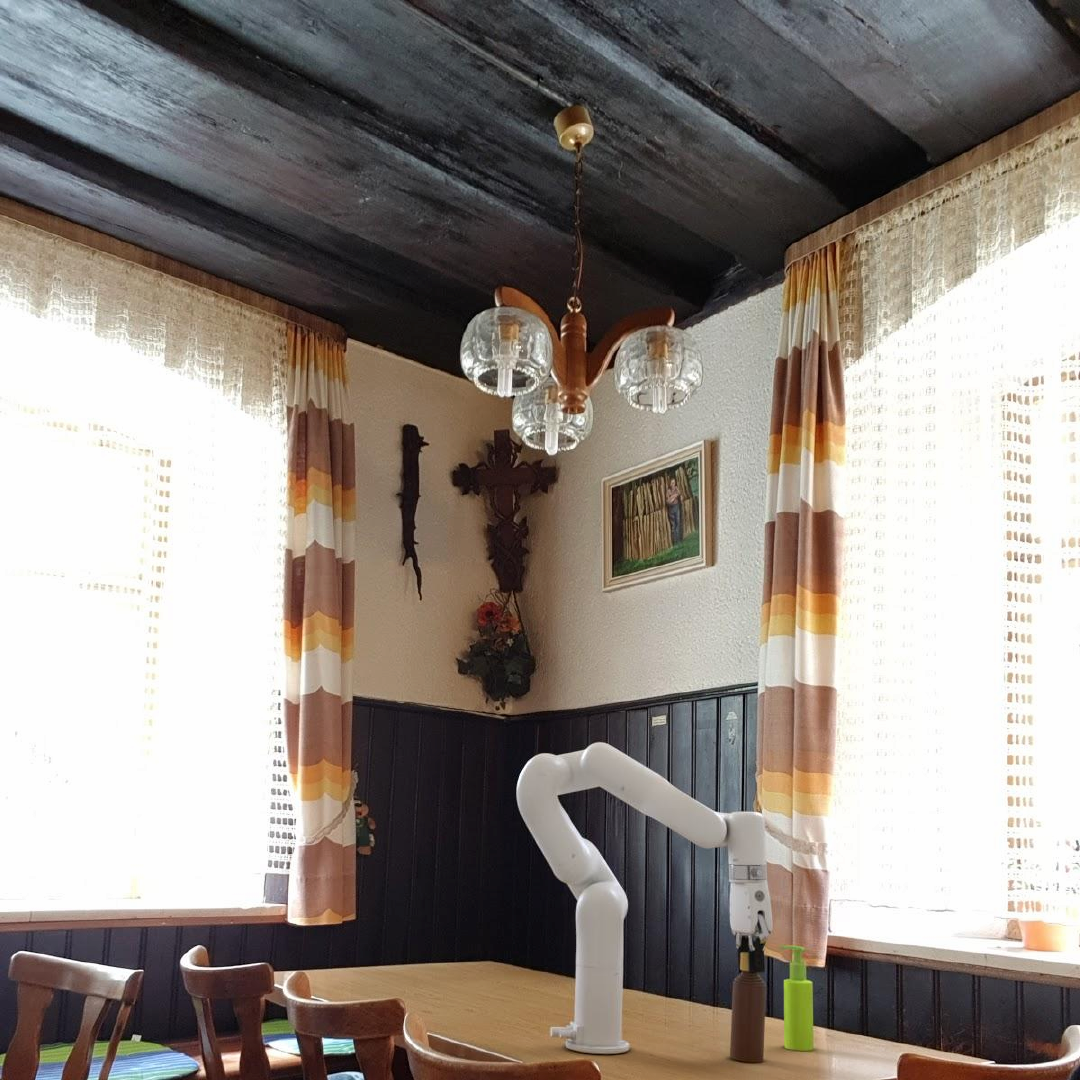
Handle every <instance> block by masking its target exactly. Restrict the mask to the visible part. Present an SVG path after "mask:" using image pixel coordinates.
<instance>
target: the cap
mask: <svg viewBox="0 0 1080 1080" xmlns="http://www.w3.org/2000/svg"><path fill="white" fill-rule="evenodd" d="M739 971H749V962H748V953H747V952H741V956H740V970H739Z"/></svg>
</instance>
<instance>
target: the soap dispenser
mask: <svg viewBox="0 0 1080 1080" xmlns="http://www.w3.org/2000/svg"><path fill="white" fill-rule="evenodd" d="M778 949H779V950H793V960H792V961H791V962H789V978H786V979H783V1033H784V1034H783V1041H784V1045H783V1047H784V1049H787V1050H791V1051H797V1052H798V1051H799V1052H810V1051H811V1052H812V1051H813V1050H814V1047H815V1046H814V990H813V983H814V982H813V981H811V980H808V979H807V963H805V962H804V961H803V952H804V951H807V949H806V947H805V946H804V947H803V946H799V945H791V944H790V945H783V946H779V947H778Z"/></svg>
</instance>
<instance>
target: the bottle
mask: <svg viewBox="0 0 1080 1080" xmlns="http://www.w3.org/2000/svg"><path fill="white" fill-rule="evenodd" d="M740 971H741V972H740V973H738V975H737V976H736V977H735V978H734V979H733V981H732V999H731V1020H730V1021H731V1023H730V1046H729V1058H730V1059H732V1060H735V1061H739V1062H745V1063H763V1062H764V1058H765V1057H764V1054H765V1026H766V1001H767V1000H766V998H767V997H766V996H767V984H766V981H764V979H763V978H762V976H761V975H760V974H759V973H760V972H758V973H751V972H749V971H743V970H740Z"/></svg>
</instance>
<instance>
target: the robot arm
mask: <svg viewBox="0 0 1080 1080" xmlns="http://www.w3.org/2000/svg"><path fill="white" fill-rule="evenodd" d="M598 787H600V788H602V789H603V790H605V791H606V792H608V793H609V794H611V795H613V796H614V797H616V798H618V799H619V800H621V801H622V802H624V803H625V804H627V805H629V806H630V807H632V808H634V809H635V810H636V811H638V812H640V813H642V815H644V816H648V817H650V818H652V819H653V820H655V821H658V822H659V823H661V824H663V825H664V826H665V827H666V828H669V829H670V830H671V831H673V832H675V833H677V834H678V835H680V836H681V837H683V838H685V839H686V840H688V841H690V842H691V843H692V844H694V845H696V846H698V847H699V848H703V849H707V850H708V849H715V848H721V847H727V852H728V854H727V855H728V856H727V857H728V882H729V883H730V887H729V888H730V889H729V890H730V891H729V925H730V929H731V933H732V934H733V936H734V940H735V946H736V947H735V948H736V953H737V954H736V955H737V969H738V970H739V971H741V970H740V956H741V952H747V953H748V962H749V972H751V973H765V970H766V967H765V951H766V943H767V941H768V939H770V935H771V934H772V932H773V930H774V929H773V925H774V923H773V912H772V903H771V902H772V901H771V894H770V890H769V884H768V873H767V871H768V870H767V869H768V868H767V846H766V822H765V816H764V815H763V814H762V813H761V812H758V811H733V812H730V813H729V812H719V811H715V810H714V809H711V808H710V807H707V806H706V805H705V804H703V803H701V802H700V801H698V800H696V799H695V798H693V797H691V796H689V795H688V794H687V793H685V792H683V791H681V790H680V789H679V788H677V786H674V785H673V784H672V783H670V782H669V781H668V780H667V779H666V778H664V777H663V776H662V775H660V774H659V773H658V772H655V771H654V770H652V769H650V768H649V767H647V766H646V765H644V764H642V763H641V762H639V761H637V760H636V759H633V758H632V757H631V756H629V755H628V754H626V753H624V752H622V751H621V750H619V749H617V748H616V747H614V746H612V745H610V744H609V743H606V742H601V741H598V742H593V743H592V744H590V745H588V746H587V747H586V748H585V749H582V750H577V751H572V752H568V753H562V754H558V755H557V754H553V753H549V752H548V753H545V752H543V753H539V754H536V755H534V756H533V757H532V758H530V759H529V760H528V761H527V762H526V764H525V765H524V767H523V768H522V770H521V772H520V774H519V777H518V780H517V784H516V802H517V808H518V810H519V813H520V815H521V817H522V819H523V821H524V823H525V825H526V827H527V829H528V830H529V832H530V834H531V835H532V838H533V839H534V840H535V842H536V844H537V846H538V847H539V849H540V851H541V853H542V854H543V856H544V858H545V859H546V861H547V863H548V865H549V867H550V868H551V871H552V872H553V874H554V876H555V877H556V879H558V880H559V881H561V882H562V883H565V884H566V885H567V887H568V888H569V890H570V891H571V893H572V894H573V896H574V898H575V899H576V901H577V902H576V908H575V929H576V930H575V935H576V937H575V939H576V946H575V947H576V948H575V949H576V950H575V951H576V952H575V984H574V985H575V986H574V987H575V989H574V993H575V994H574V1019H573V1020H574V1021H570V1023H569V1024H567V1025H565V1027H564V1026H562V1027H561V1026H550V1031H549V1034H550V1038H560V1039H566V1040H565V1047H566V1048H567V1049H568V1050H570V1051H575V1052H578V1053H586V1054H598V1055H614V1054H622V1053H626V1052H628V1051H629V1050H630V1043H629V1042H628V1041H625V1040H623V1037H622V1036H623V992H624V920H625V918H626V917H627V913H628V910H629V901H628V898H627V895H626V892H625V890H624V888H623V887H622V886H621V884H620V882H619V881H618V879H617V878H616V876H615V875H614V873H613V871H612V870H611V868H610V867H609V865H608V864H607V862H606V860H605V859H604V857H603V856H602V853H600V851H599V849H598V848H597V846H596V845H594V844H593V842H592V841H590V840H588V839H586V838H584V837H582V835H581V834H580V832H579V831H578V829H577V828H576V826H575V825H574V823H573V822H572V820H571V818H570V816H569V814H568V813H567V812H566V810H565V808H564V807H563V806H562V804H561V802H560V800H559V797H558V796H561V795H566V794H570V793H574V792H580V791H585V790H590V789H595V788H598Z"/></svg>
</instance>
